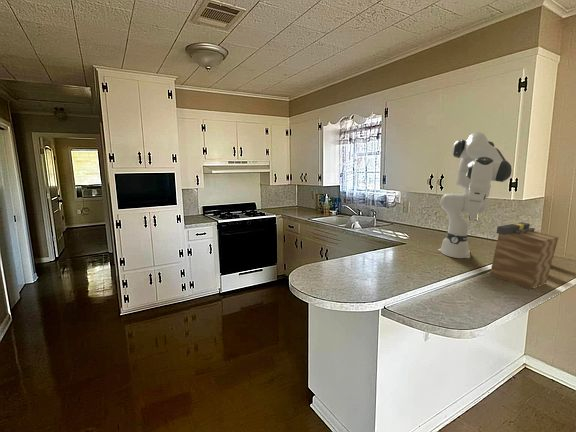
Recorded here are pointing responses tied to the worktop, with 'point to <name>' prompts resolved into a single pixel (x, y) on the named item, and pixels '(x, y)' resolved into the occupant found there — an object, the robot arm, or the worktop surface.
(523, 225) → the dark long bar piece
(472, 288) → the worktop surface
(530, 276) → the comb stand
